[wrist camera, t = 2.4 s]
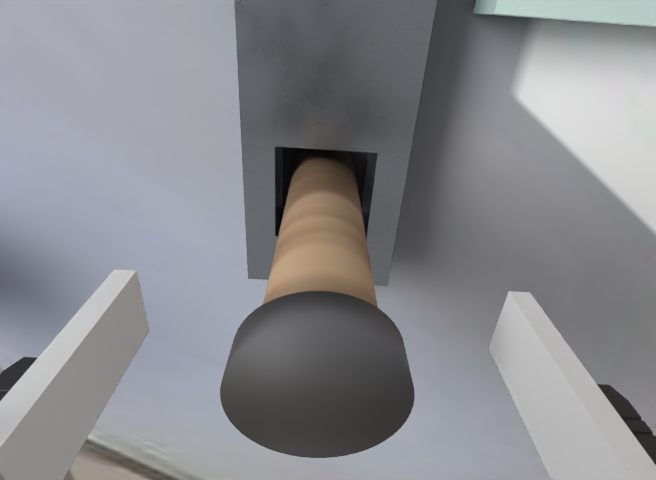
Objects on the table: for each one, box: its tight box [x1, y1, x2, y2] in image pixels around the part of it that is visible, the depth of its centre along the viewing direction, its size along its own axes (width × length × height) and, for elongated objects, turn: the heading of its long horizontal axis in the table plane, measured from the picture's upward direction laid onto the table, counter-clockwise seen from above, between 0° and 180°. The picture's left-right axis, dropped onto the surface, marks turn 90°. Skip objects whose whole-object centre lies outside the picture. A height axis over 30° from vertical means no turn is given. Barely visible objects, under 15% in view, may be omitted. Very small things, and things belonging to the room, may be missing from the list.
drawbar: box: [235, 0, 437, 286], centre depth 21 cm, size 24×9×4 cm, turn 176°
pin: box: [220, 148, 414, 458], centre depth 18 cm, size 5×5×18 cm
